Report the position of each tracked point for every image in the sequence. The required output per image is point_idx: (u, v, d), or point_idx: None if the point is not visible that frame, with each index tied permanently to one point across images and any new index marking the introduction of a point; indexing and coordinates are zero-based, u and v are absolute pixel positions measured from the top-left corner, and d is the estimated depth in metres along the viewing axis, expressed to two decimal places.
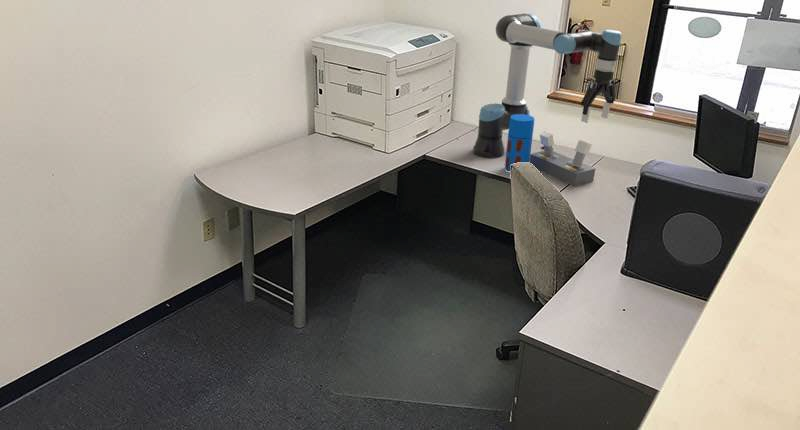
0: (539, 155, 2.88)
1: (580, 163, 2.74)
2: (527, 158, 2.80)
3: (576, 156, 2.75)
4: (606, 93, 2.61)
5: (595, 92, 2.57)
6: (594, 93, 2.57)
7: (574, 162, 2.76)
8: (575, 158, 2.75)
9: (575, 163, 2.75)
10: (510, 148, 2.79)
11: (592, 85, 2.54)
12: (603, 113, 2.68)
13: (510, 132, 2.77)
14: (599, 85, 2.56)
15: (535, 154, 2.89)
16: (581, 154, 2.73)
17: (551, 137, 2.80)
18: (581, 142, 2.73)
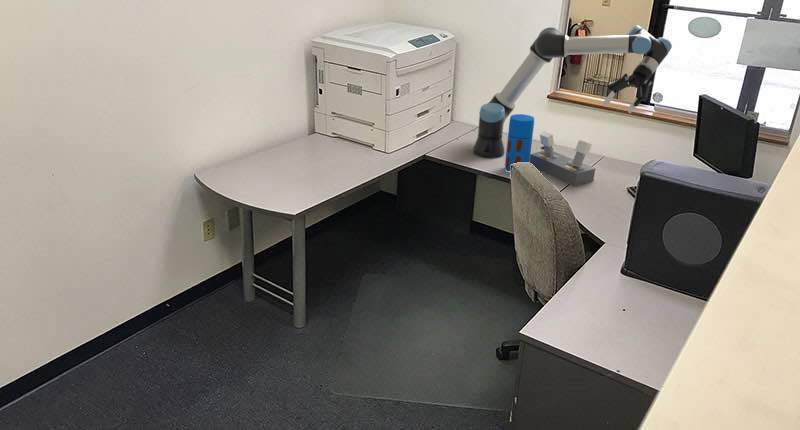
0: (539, 155, 2.88)
1: (580, 163, 2.74)
2: (527, 158, 2.80)
3: (576, 156, 2.75)
4: (625, 86, 2.80)
5: (641, 88, 2.74)
6: (641, 89, 2.74)
7: (574, 162, 2.76)
8: (575, 158, 2.75)
9: (575, 163, 2.75)
10: (510, 148, 2.79)
11: (650, 83, 2.72)
12: (607, 100, 2.80)
13: (510, 132, 2.77)
14: None
15: (535, 154, 2.89)
16: (581, 154, 2.73)
17: (551, 137, 2.80)
18: (581, 142, 2.73)
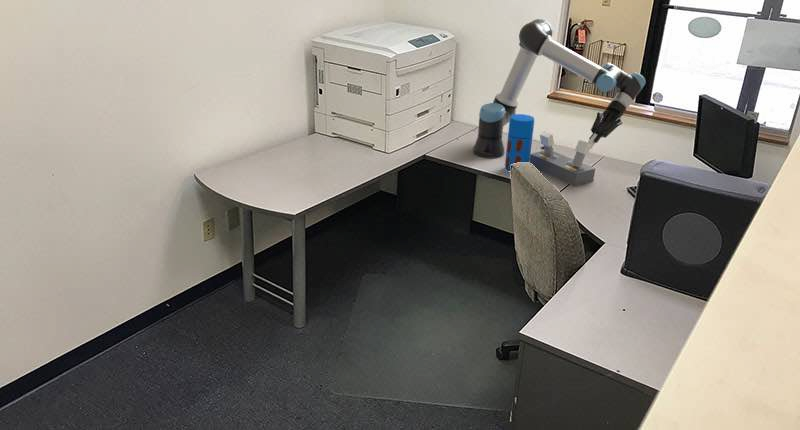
0: (539, 155, 2.88)
1: (580, 163, 2.74)
2: (527, 158, 2.80)
3: (576, 156, 2.75)
4: (604, 124, 2.77)
5: (610, 124, 2.75)
6: (609, 125, 2.75)
7: (574, 162, 2.76)
8: (575, 158, 2.75)
9: (575, 163, 2.75)
10: (510, 148, 2.79)
11: (620, 123, 2.72)
12: None
13: (510, 132, 2.77)
14: None
15: (535, 154, 2.89)
16: (581, 154, 2.73)
17: (551, 137, 2.80)
18: (581, 142, 2.73)
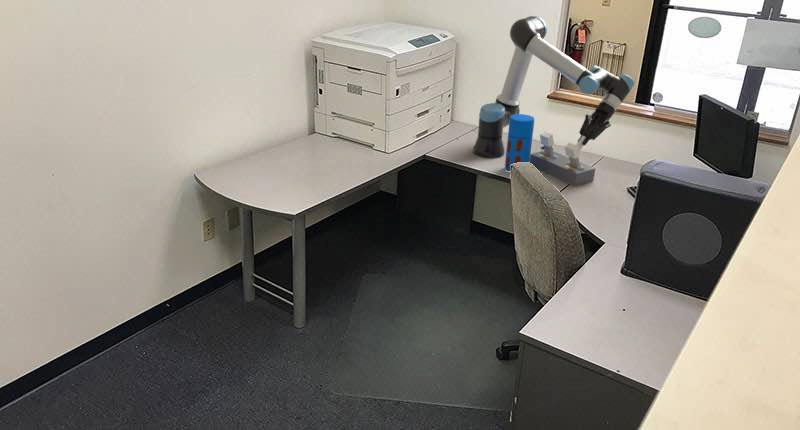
0: (539, 155, 2.88)
1: (577, 164, 2.73)
2: (527, 158, 2.80)
3: (571, 159, 2.74)
4: (592, 126, 2.73)
5: (598, 127, 2.71)
6: (597, 127, 2.71)
7: (572, 164, 2.75)
8: (571, 161, 2.75)
9: (573, 165, 2.75)
10: (510, 148, 2.79)
11: (608, 125, 2.68)
12: (578, 145, 2.71)
13: (510, 132, 2.77)
14: None
15: (535, 154, 2.89)
16: (574, 158, 2.71)
17: (551, 137, 2.80)
18: (567, 149, 2.70)
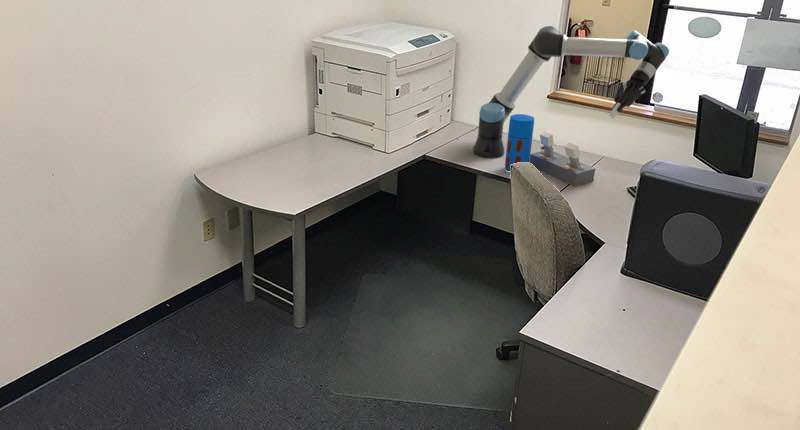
0: (539, 155, 2.88)
1: (577, 164, 2.73)
2: (527, 158, 2.80)
3: (571, 159, 2.74)
4: (627, 94, 2.78)
5: (633, 94, 2.76)
6: (632, 95, 2.76)
7: (572, 164, 2.75)
8: (571, 161, 2.75)
9: (573, 165, 2.75)
10: (510, 148, 2.79)
11: (643, 92, 2.73)
12: None
13: (510, 132, 2.77)
14: None
15: (535, 154, 2.89)
16: (574, 158, 2.71)
17: (551, 137, 2.80)
18: (567, 149, 2.70)
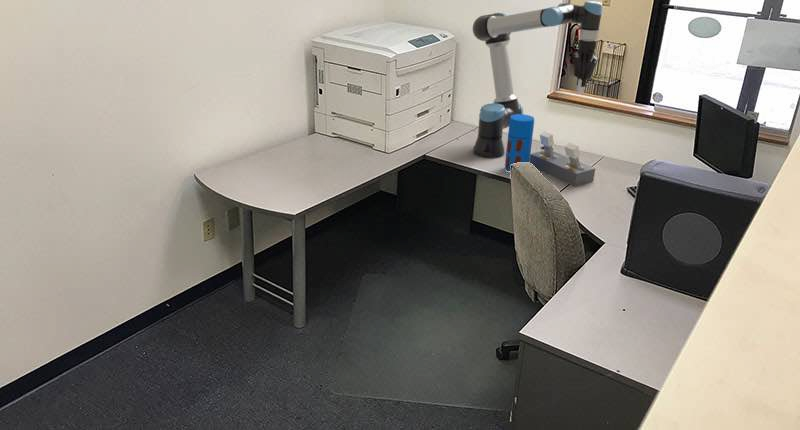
0: (539, 155, 2.88)
1: (577, 164, 2.73)
2: (527, 158, 2.80)
3: (571, 159, 2.74)
4: (584, 64, 2.74)
5: (588, 63, 2.72)
6: (588, 65, 2.72)
7: (572, 164, 2.75)
8: (571, 161, 2.75)
9: (573, 165, 2.75)
10: (510, 148, 2.79)
11: (596, 61, 2.68)
12: None
13: (510, 132, 2.77)
14: None
15: (535, 154, 2.89)
16: (574, 158, 2.71)
17: (551, 137, 2.80)
18: (567, 149, 2.70)
